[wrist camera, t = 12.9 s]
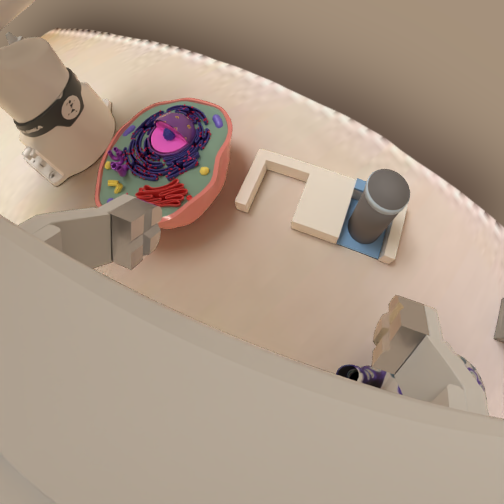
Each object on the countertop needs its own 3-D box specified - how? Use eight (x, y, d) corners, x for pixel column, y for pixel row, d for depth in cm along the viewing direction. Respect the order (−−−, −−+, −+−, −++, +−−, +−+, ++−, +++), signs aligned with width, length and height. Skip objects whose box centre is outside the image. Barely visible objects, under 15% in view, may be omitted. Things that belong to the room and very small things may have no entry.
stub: (342, 237, 39) (362, 199, 29) (352, 205, 40) (372, 161, 30) (375, 250, 38) (406, 217, 28) (384, 218, 39) (413, 178, 29)
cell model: (98, 212, 44) (56, 179, 33) (180, 116, 47) (159, 68, 36) (178, 276, 40) (142, 253, 29) (267, 160, 43) (262, 108, 33)
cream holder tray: (237, 209, 42) (234, 200, 39) (260, 157, 44) (259, 146, 41) (388, 264, 38) (396, 258, 35) (402, 207, 40) (409, 198, 37)
